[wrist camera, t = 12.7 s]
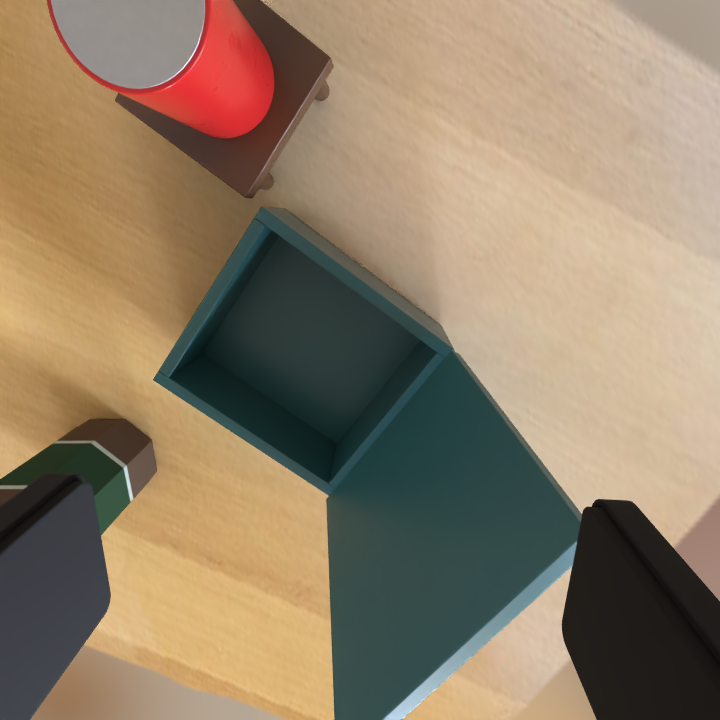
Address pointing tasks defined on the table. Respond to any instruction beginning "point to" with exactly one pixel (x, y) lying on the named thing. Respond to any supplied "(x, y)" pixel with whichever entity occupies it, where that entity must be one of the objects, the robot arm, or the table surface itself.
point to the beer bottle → (94, 465)
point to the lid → (437, 544)
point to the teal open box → (302, 350)
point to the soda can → (173, 58)
